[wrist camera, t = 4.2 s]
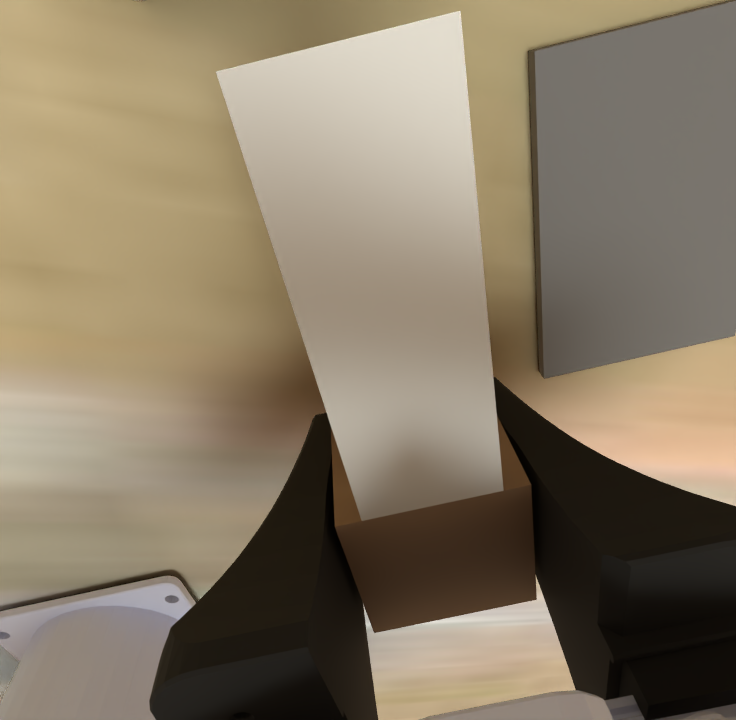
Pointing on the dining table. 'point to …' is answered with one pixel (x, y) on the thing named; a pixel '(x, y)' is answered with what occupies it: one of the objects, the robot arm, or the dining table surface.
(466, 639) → the dining table surface
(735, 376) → the dining table surface
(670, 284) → the mat
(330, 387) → the brown white angled block
